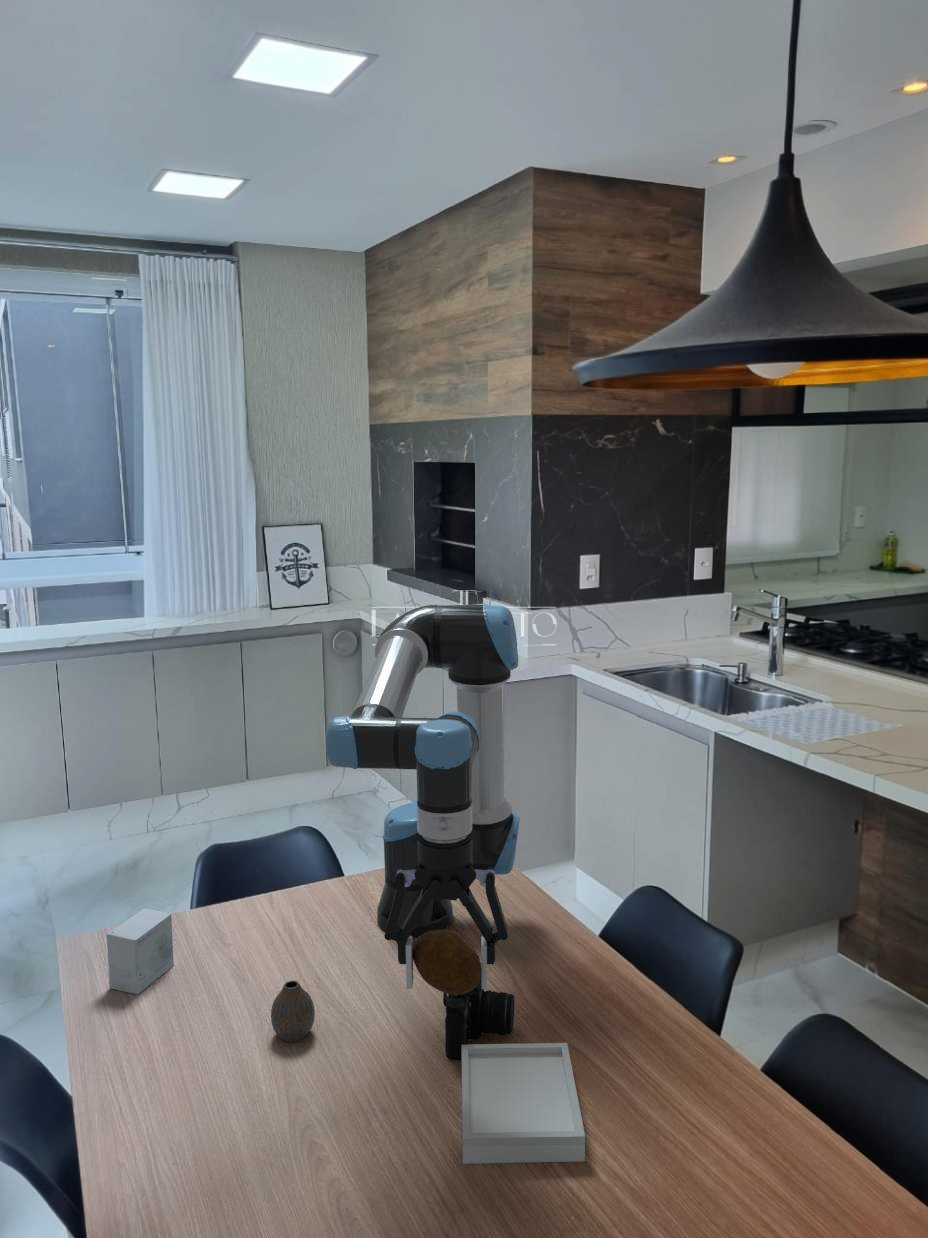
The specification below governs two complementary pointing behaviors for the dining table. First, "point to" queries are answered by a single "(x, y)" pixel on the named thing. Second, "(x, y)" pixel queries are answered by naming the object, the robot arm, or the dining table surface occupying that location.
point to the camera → (476, 1017)
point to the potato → (447, 962)
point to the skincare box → (140, 951)
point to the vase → (292, 1012)
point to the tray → (520, 1104)
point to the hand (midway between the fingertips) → (447, 984)
